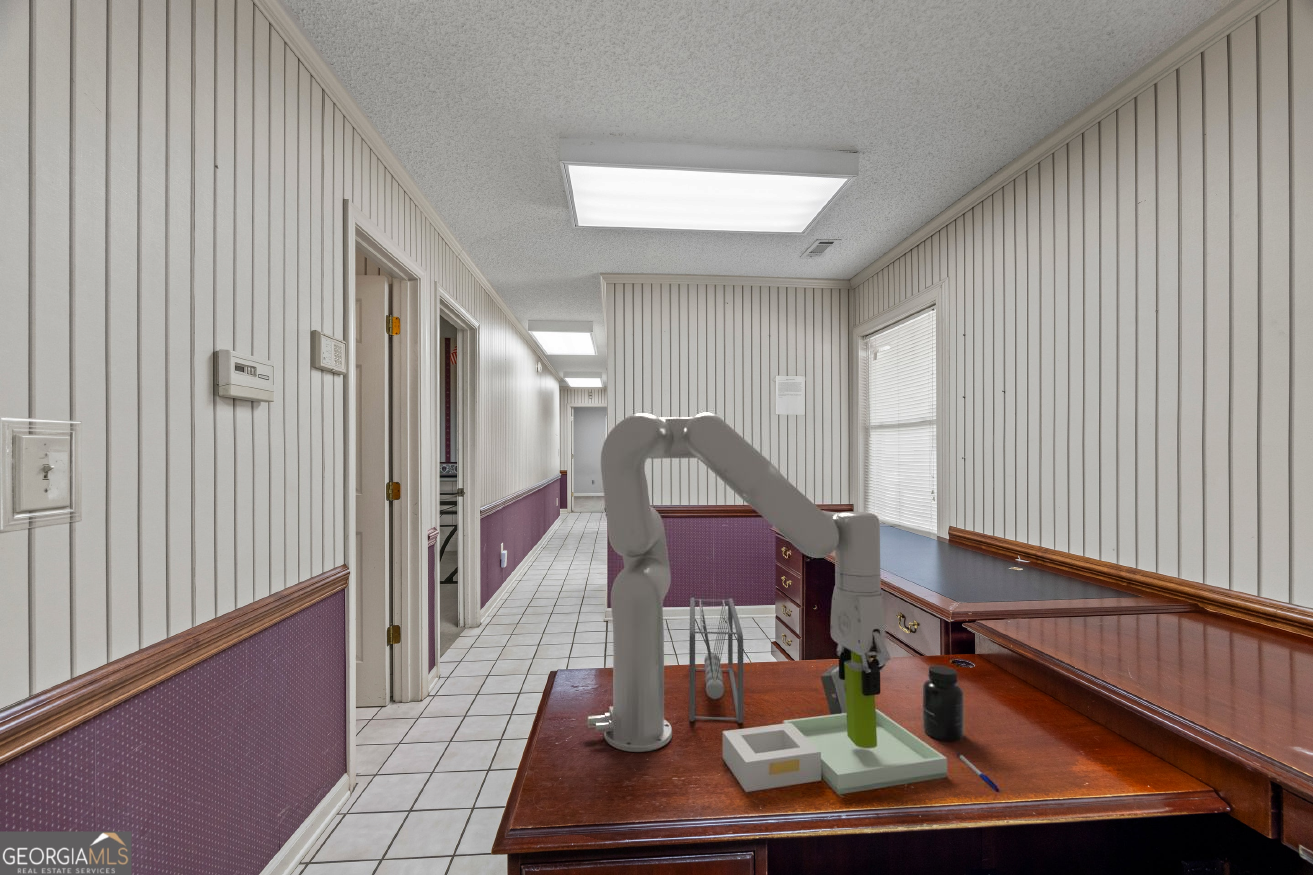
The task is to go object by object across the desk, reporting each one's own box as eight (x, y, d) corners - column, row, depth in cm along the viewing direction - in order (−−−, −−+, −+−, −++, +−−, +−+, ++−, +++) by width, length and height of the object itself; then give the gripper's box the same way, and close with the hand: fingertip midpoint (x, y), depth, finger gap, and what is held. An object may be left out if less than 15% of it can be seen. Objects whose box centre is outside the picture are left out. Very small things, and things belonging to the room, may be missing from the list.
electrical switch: (848, 723, 107) (843, 673, 108) (822, 717, 110) (818, 670, 111) (864, 706, 114) (859, 660, 115) (839, 702, 118) (835, 657, 119)
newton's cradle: (690, 667, 136) (690, 595, 136) (732, 668, 135) (732, 596, 136) (689, 725, 106) (689, 632, 106) (743, 727, 105) (743, 634, 106)
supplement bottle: (918, 734, 103) (917, 669, 103) (929, 721, 108) (928, 659, 108) (958, 747, 98) (957, 679, 99) (968, 733, 103) (967, 668, 104)
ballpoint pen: (1001, 792, 85) (1001, 786, 85) (995, 792, 85) (995, 786, 85) (960, 756, 96) (960, 750, 96) (955, 756, 95) (955, 750, 96)
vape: (858, 749, 92) (853, 626, 93) (844, 733, 98) (840, 618, 99) (880, 748, 92) (874, 626, 94) (865, 732, 98) (860, 617, 100)
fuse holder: (746, 792, 84) (746, 762, 84) (722, 757, 94) (722, 731, 94) (822, 781, 87) (821, 752, 88) (791, 748, 97) (790, 722, 98)
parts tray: (838, 794, 84) (837, 774, 84) (783, 737, 101) (783, 720, 101) (947, 776, 89) (946, 757, 89) (876, 724, 106) (876, 709, 106)
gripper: (813, 573, 104) (813, 669, 103) (869, 595, 87) (871, 710, 86) (847, 571, 106) (849, 666, 105) (909, 592, 89) (911, 705, 88)
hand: (858, 685), depth 96 cm, fingers closed on vape, 6 cm apart
